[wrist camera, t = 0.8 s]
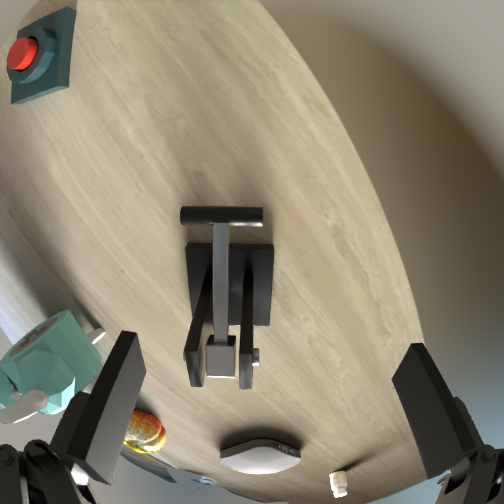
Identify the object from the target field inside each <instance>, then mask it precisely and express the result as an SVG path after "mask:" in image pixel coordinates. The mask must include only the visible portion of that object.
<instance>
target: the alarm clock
mask: <svg viewBox="0 0 504 504" xmlns="http://www.w3.org/2000/svg"><path fill="white" fill-rule="evenodd" d="M104 333H105V331H104V330H103V329H101V328H98V329H95V330H94V331H92V332H91V333H89V334H88V335H86V334H85V333H84V331H83V330H82V328H81V327H80V325H79V324H78V322H77V321H76V319H75V318H74V316H73V315H72V313H71V312H70V310H68V309H66V310H63V311H61V312H59V313H57V314H55V315H53V316H52V317H50V318H48V319H47V320H45V321H44V322H42V323H41V324H39V325H38V326H37V327H35V328H34V329H33V330H31V331H30V332H29V333H27V334H26V335H25V336H24V337H23V338H22V339H20V340H19V341H18V342H17V343H16V344H15V345H14V346H13V347H12V348H11V349H10V350H9V351H8V352H7V353H6V354H5V355H4V357H3V358H2V360H1V361H0V422H1V423H3V424H11V423H15V422H18V421H20V420H23V419H26V418H28V417H30V416H31V415H33V414H34V413H36V412H39V413H42V414H45V413H48V414H56V413H58V412H59V411H61V410H63V409H65V408H66V407H67V406H68V403H69V401H70V399H71V398H72V397H73V396H74V395H75V394H76V393H77V392H78V391H83V390H84V389H85V388H86V386H87V385H88V384H89V383H90V382H91V380H92V379H93V378H94V377H95V375H96V373H97V371H98V370H99V368H100V366H101V355H100V354H99V353H98V351H97V350H96V349H95V347H94V346H93V345H94V344H95V343H96V342H97V341H98V340H99V339H100V338H101V337H102V336H103V335H104ZM4 406H5V407H6V408H4Z"/></svg>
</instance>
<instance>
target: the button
mask: <svg viewBox="0 0 504 504" xmlns="http://www.w3.org/2000/svg"><path fill="white" fill-rule="evenodd" d="M37 52H38V42H37V41H36V40H35V39H31V38H26V37H22V38H19V39H18V40H17V41H16V42H15V43H14V44H13V45H12V47H11V49H10V51H9V53H8V57H7V65H8V67H9V68H10V69H20V70H23V69H26V68H28V67H29V66H30V65H31V64H32V63H33V61H34V59H35V57H36V54H37Z"/></svg>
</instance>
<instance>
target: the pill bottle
mask: <svg viewBox="0 0 504 504" xmlns="http://www.w3.org/2000/svg"><path fill="white" fill-rule="evenodd" d="M330 480H331V487H332V490H333V491H335V492H334V496H335V497H340V496H344V495H346V494H347V491H346V489H345V488H347V481H346V475H345V472H344V471H338V472H334V473H332V474H331V475H330Z"/></svg>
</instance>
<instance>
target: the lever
mask: <svg viewBox="0 0 504 504" xmlns="http://www.w3.org/2000/svg"><path fill="white" fill-rule="evenodd" d="M180 222H181V225H184V226H213V332H214V335H209V338H208V340H207V343H206V346H205V349H206V372H207V377H224V378H234V377H235V368H236V336H235V335H229V227H230V226H256V227H262V226H263V207H241V206H182V207H181V210H180Z"/></svg>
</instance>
